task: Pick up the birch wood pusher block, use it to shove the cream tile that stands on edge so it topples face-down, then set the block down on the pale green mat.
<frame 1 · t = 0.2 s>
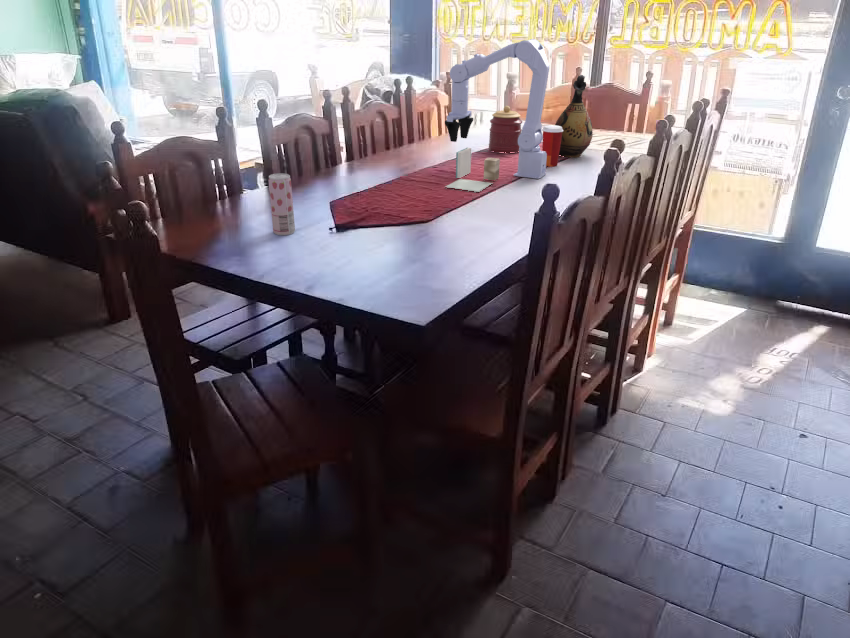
hand: (458, 139, 239), 10 cm above the table, tool pointing down, fingers open, 7 cm apart
mat: (469, 186, 219), on the table
canister: (504, 151, 271), on the table
beverage can: (284, 233, 175), on the table
tile: (463, 176, 232), on the table
paper cup: (549, 165, 248), on the table
pusher block: (491, 179, 228), on the table
ceramic jug: (570, 155, 264), on the table
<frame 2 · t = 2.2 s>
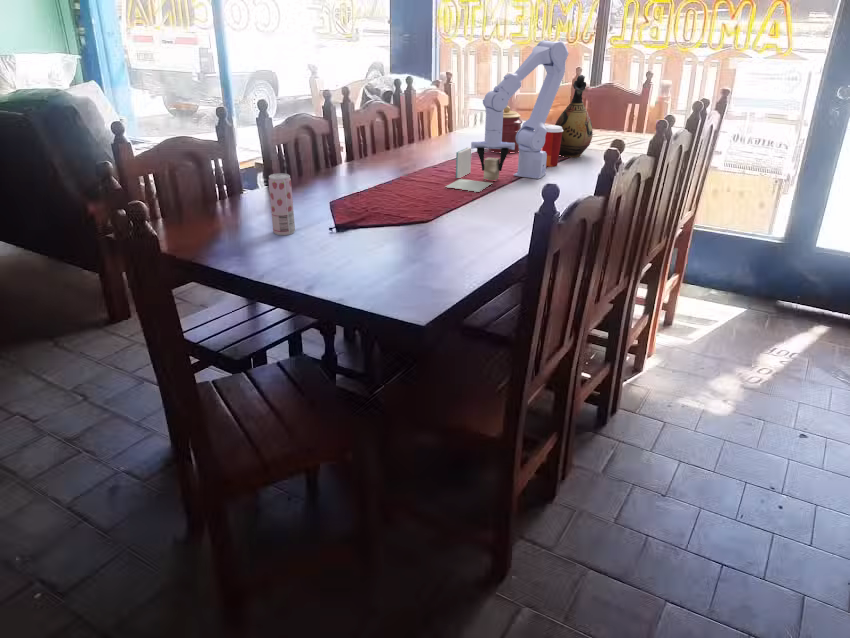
hand: (491, 170, 226), 3 cm above the table, tool pointing down, fingers closed on pusher block, 5 cm apart
pusher block: (491, 179, 228), on the table, touching gripper
everything else where it was.
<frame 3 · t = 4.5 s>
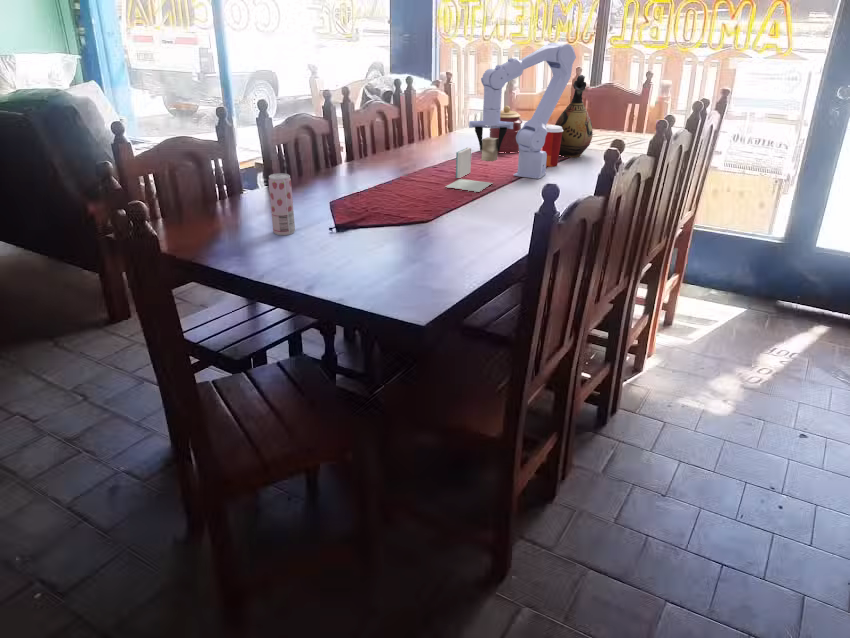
hand: (489, 150, 224), 10 cm above the table, tool pointing down, fingers closed on pusher block, 5 cm apart
pusher block: (489, 159, 225), point 7 cm above the table, touching gripper
everything else where it was.
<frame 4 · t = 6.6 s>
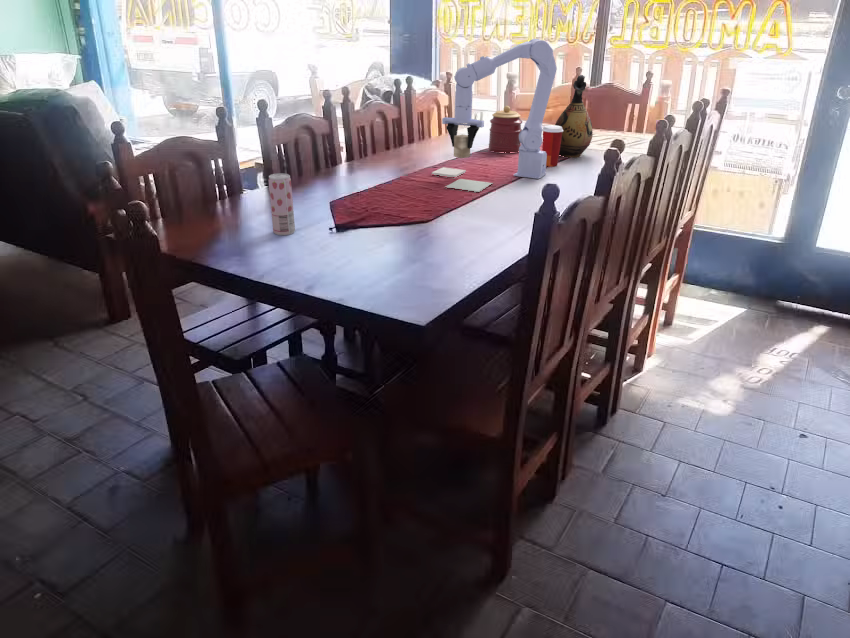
hand: (462, 147, 228), 10 cm above the table, tool pointing down, fingers closed on pusher block, 5 cm apart
tile: (460, 175, 232), on the table, tilted 90°
pusher block: (461, 156, 229), point 7 cm above the table, touching gripper
everything else where it was.
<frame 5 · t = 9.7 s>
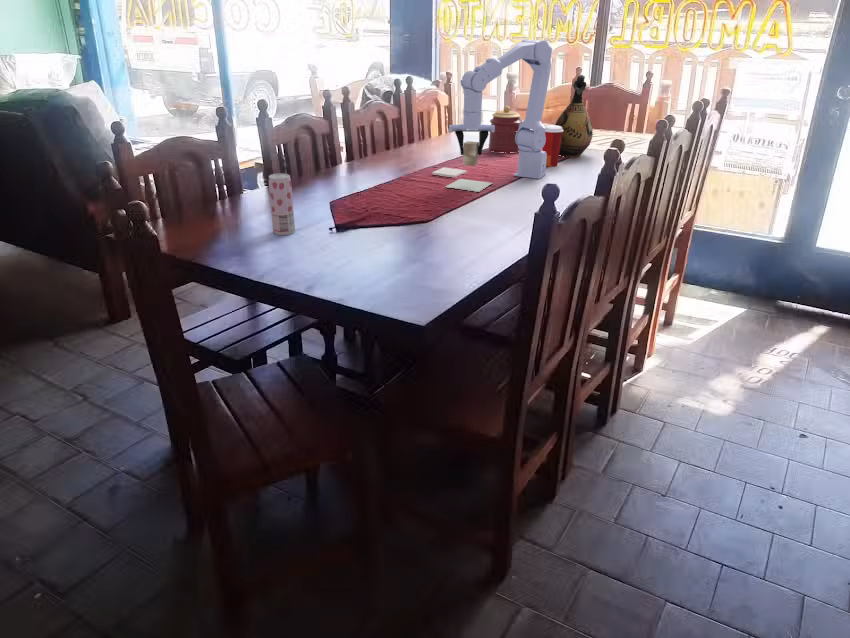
hand: (470, 154, 217), 10 cm above the table, tool pointing down, fingers closed on pusher block, 5 cm apart
pusher block: (470, 164, 219), point 7 cm above the table, touching gripper
everything else where it was.
when the fingers open (5 cm above the table, at t = 12.7 s): pusher block stays where it is, resting on mat.
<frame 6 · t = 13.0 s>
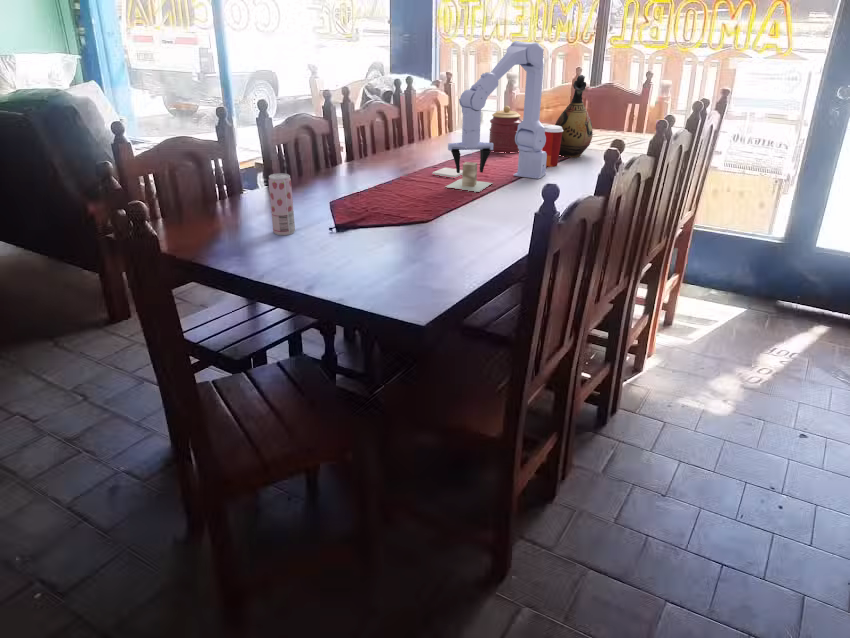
hand: (469, 172, 217), 5 cm above the table, tool pointing down, fingers open, 7 cm apart
pusher block: (469, 184, 219), resting on mat
everything else where it was.
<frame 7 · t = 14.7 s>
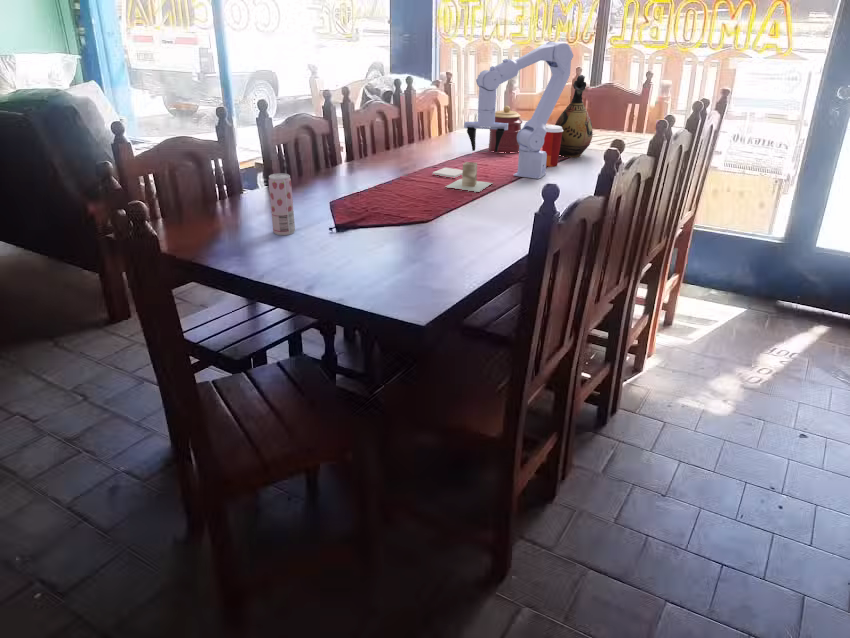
hand: (485, 150, 225), 9 cm above the table, tool pointing down, fingers open, 7 cm apart
nothing on the table moved.
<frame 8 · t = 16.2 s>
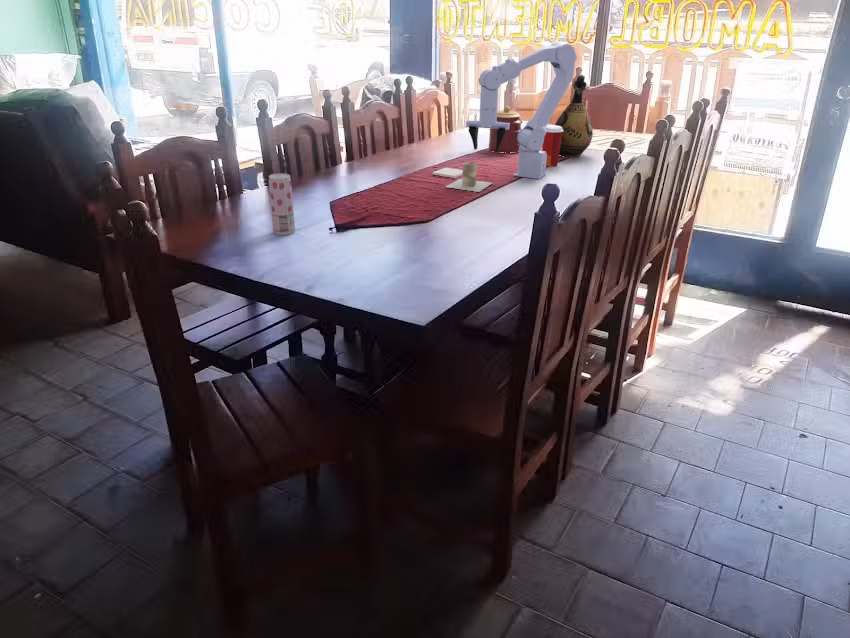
hand: (486, 149, 226), 9 cm above the table, tool pointing down, fingers open, 7 cm apart
nothing on the table moved.
at the end: tile tilted 90°; tile inside the target area (2.7 cm from its centre), on the table; pusher block inside the target area on the mat (0.0 cm from its centre), point 0.5 cm above the mat's base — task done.
